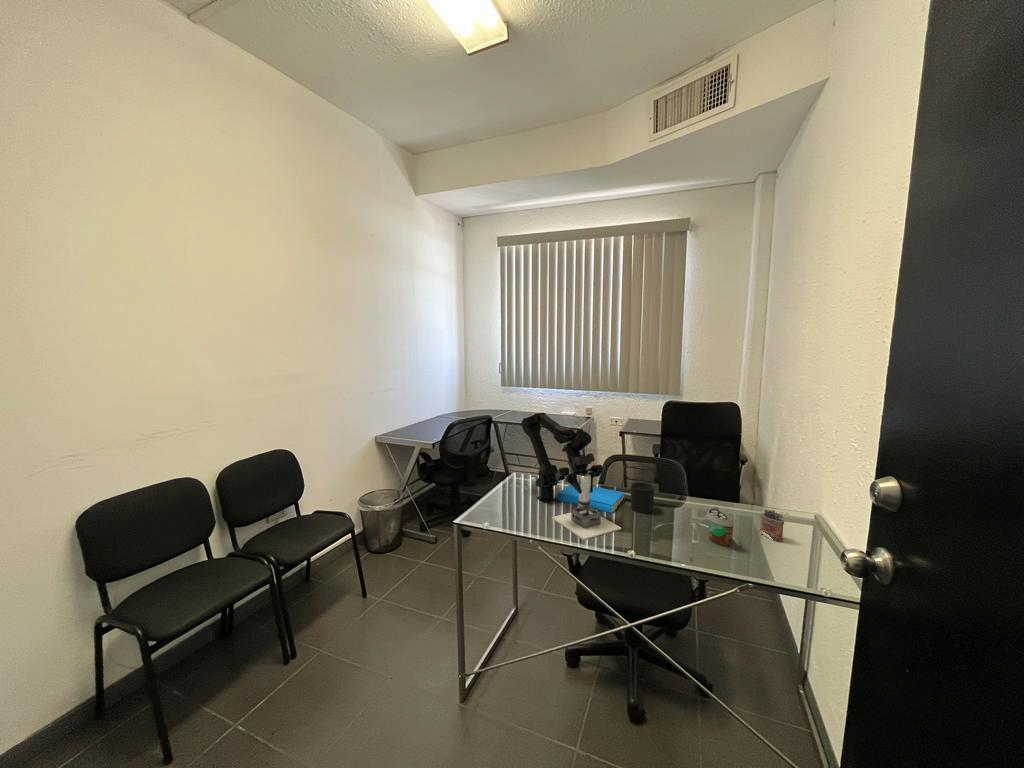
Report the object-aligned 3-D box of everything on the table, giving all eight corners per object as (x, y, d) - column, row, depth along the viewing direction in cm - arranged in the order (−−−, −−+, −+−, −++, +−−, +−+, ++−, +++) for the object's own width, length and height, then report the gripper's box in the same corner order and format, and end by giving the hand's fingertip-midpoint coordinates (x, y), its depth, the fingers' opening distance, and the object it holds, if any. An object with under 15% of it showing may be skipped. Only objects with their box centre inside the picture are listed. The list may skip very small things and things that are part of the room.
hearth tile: (552, 518, 160) (552, 517, 160) (587, 509, 169) (587, 508, 169) (583, 540, 143) (583, 538, 143) (621, 529, 151) (621, 527, 151)
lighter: (757, 533, 149) (758, 507, 148) (763, 531, 150) (765, 506, 149) (778, 543, 141) (780, 516, 140) (784, 541, 143) (787, 514, 142)
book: (573, 481, 193) (624, 491, 179) (573, 490, 193) (624, 501, 180) (557, 492, 179) (612, 504, 165) (557, 502, 179) (612, 514, 165)
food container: (699, 532, 150) (700, 506, 149) (715, 532, 149) (717, 506, 148) (714, 548, 137) (716, 520, 136) (732, 549, 137) (734, 521, 136)
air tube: (575, 507, 154) (576, 475, 153) (582, 504, 158) (583, 472, 156) (585, 511, 151) (586, 478, 150) (592, 507, 154) (593, 475, 153)
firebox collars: (571, 520, 157) (571, 509, 157) (587, 516, 161) (587, 505, 161) (584, 528, 150) (584, 516, 150) (600, 524, 154) (600, 512, 154)
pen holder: (658, 510, 169) (659, 487, 168) (643, 515, 164) (644, 492, 163) (639, 503, 177) (640, 481, 176) (625, 507, 171) (626, 485, 170)
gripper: (558, 447, 153) (570, 485, 144) (602, 444, 158) (616, 481, 149) (550, 461, 161) (561, 498, 152) (592, 458, 167) (604, 493, 157)
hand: (586, 492), depth 152 cm, fingers closed on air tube, 4 cm apart
